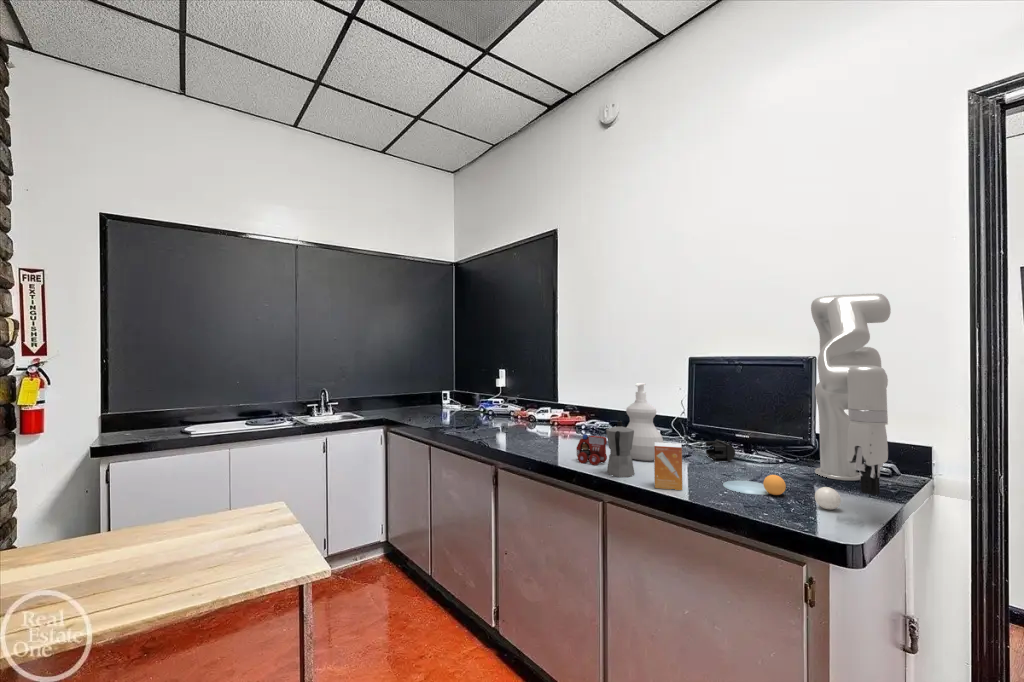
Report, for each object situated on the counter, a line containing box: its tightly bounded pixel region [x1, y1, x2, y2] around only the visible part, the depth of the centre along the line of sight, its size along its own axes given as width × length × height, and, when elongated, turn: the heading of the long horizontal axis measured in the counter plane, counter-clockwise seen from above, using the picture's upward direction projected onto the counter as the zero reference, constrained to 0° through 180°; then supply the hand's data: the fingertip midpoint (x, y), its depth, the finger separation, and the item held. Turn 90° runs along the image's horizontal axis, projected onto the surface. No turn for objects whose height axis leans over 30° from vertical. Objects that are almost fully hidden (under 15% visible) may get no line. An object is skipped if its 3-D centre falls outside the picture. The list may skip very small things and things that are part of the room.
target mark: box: [722, 479, 771, 496], centre depth 137 cm, size 14×14×1 cm
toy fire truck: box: [576, 433, 608, 466], centre depth 171 cm, size 7×12×10 cm, turn 49°
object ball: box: [762, 474, 787, 496], centre depth 131 cm, size 6×6×6 cm
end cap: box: [705, 439, 736, 462], centre depth 174 cm, size 10×7×7 cm
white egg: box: [814, 486, 842, 511], centre depth 118 cm, size 6×6×6 cm
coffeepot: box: [605, 420, 635, 478], centre depth 154 cm, size 15×9×18 cm, turn 160°
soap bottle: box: [625, 382, 664, 462], centre depth 176 cm, size 17×12×29 cm
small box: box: [653, 442, 683, 491], centre depth 139 cm, size 8×6×13 cm
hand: (870, 493), depth 110 cm, fingers closed
